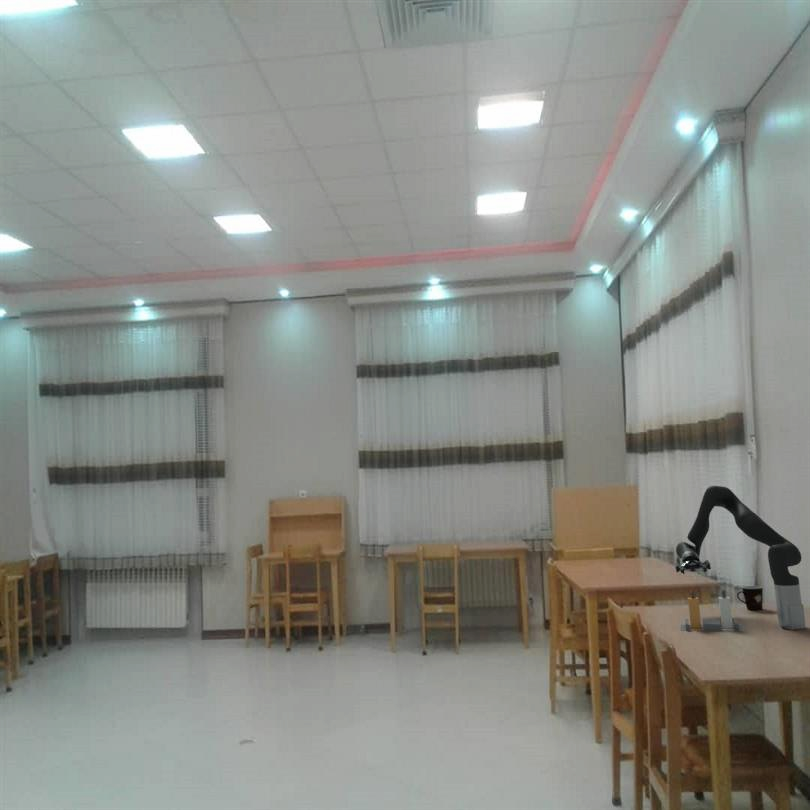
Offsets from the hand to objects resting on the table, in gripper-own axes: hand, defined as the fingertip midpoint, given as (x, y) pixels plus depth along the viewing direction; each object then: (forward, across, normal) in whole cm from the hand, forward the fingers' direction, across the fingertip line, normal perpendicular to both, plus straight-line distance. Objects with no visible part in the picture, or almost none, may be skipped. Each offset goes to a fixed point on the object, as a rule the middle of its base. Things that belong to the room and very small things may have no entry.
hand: (694, 570), depth 324 cm
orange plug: (+13, -3, +20) cm, 24 cm away
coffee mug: (-29, +23, +28) cm, 46 cm away
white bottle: (+14, +9, +20) cm, 26 cm away
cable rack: (+14, +3, +21) cm, 25 cm away
